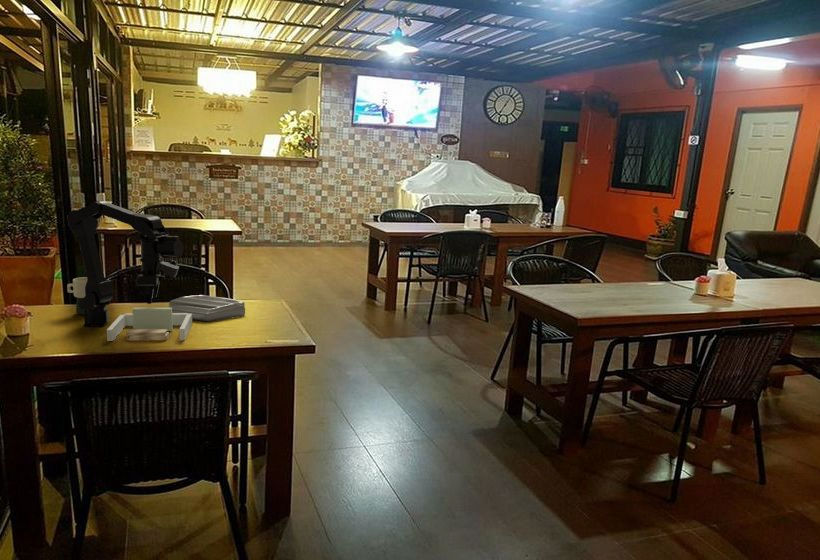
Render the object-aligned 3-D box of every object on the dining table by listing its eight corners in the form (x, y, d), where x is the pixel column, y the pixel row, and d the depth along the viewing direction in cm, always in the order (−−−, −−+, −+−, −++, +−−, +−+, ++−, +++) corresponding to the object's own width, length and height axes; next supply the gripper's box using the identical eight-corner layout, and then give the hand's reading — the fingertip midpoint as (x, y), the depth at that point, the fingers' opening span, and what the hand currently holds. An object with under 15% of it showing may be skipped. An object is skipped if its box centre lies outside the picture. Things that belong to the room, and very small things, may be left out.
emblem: (244, 291, 241) (245, 308, 214) (244, 304, 242) (245, 322, 215) (171, 292, 233) (163, 309, 206) (171, 305, 234) (163, 324, 207)
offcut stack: (126, 341, 187) (126, 332, 187) (130, 337, 191) (130, 328, 190) (166, 341, 189) (166, 332, 188) (169, 337, 193) (169, 329, 192)
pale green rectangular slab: (133, 332, 196) (132, 309, 194) (134, 330, 198) (134, 307, 196) (171, 331, 199) (171, 309, 197) (172, 330, 200) (172, 307, 199)
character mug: (104, 310, 219) (102, 276, 216) (100, 315, 212) (98, 280, 209) (71, 311, 215) (69, 277, 213) (66, 316, 209) (64, 281, 206)
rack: (107, 341, 184) (106, 329, 184) (122, 324, 203) (121, 313, 202) (184, 340, 190) (184, 328, 189) (192, 324, 208) (192, 313, 208)
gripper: (172, 259, 186) (173, 307, 189) (180, 250, 204) (181, 294, 207) (134, 259, 183) (136, 307, 186) (146, 249, 201) (147, 293, 204)
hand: (152, 300), depth 196 cm, fingers open, 9 cm apart
